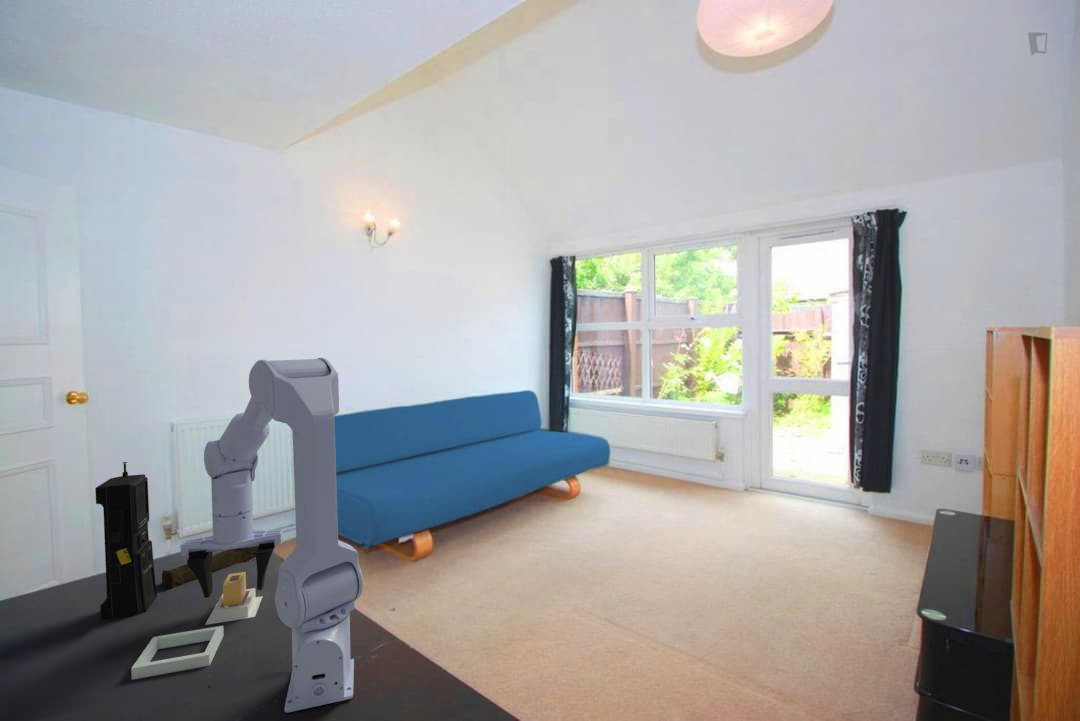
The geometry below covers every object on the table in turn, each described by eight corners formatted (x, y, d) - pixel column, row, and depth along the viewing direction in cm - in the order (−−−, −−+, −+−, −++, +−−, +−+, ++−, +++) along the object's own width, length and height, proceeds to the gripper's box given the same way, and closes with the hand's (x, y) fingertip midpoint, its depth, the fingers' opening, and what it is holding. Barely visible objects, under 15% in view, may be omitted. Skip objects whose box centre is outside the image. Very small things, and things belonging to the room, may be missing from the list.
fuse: (241, 614, 84) (240, 581, 84) (223, 617, 83) (222, 584, 83) (246, 602, 88) (245, 571, 87) (229, 605, 87) (228, 573, 87)
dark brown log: (169, 595, 92) (169, 570, 92) (160, 589, 94) (159, 564, 94) (272, 558, 108) (272, 536, 108) (262, 553, 110) (262, 532, 110)
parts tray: (209, 670, 71) (209, 654, 71) (131, 685, 68) (131, 668, 68) (223, 640, 78) (223, 625, 78) (153, 651, 75) (153, 636, 75)
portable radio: (143, 621, 83) (137, 470, 82) (97, 628, 81) (91, 474, 80) (158, 598, 91) (154, 459, 90) (117, 604, 89) (111, 462, 87)
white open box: (254, 621, 83) (254, 605, 83) (205, 629, 81) (204, 613, 81) (262, 600, 90) (262, 586, 90) (217, 607, 88) (216, 592, 87)
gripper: (284, 499, 91) (286, 573, 91) (189, 508, 86) (191, 586, 87) (278, 512, 84) (280, 592, 85) (174, 522, 79) (177, 607, 80)
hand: (234, 591), depth 85 cm, fingers open, 7 cm apart
